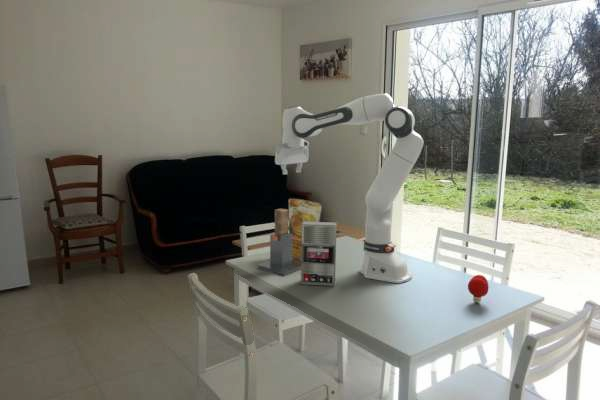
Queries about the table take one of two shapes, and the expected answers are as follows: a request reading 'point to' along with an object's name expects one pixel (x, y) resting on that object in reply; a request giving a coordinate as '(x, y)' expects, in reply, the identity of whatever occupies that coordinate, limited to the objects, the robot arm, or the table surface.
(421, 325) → the table surface
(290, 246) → the stand
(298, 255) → the pancake mix bag
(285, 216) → the post
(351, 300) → the table surface
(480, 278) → the light bulb
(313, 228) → the cassette tape recorder
